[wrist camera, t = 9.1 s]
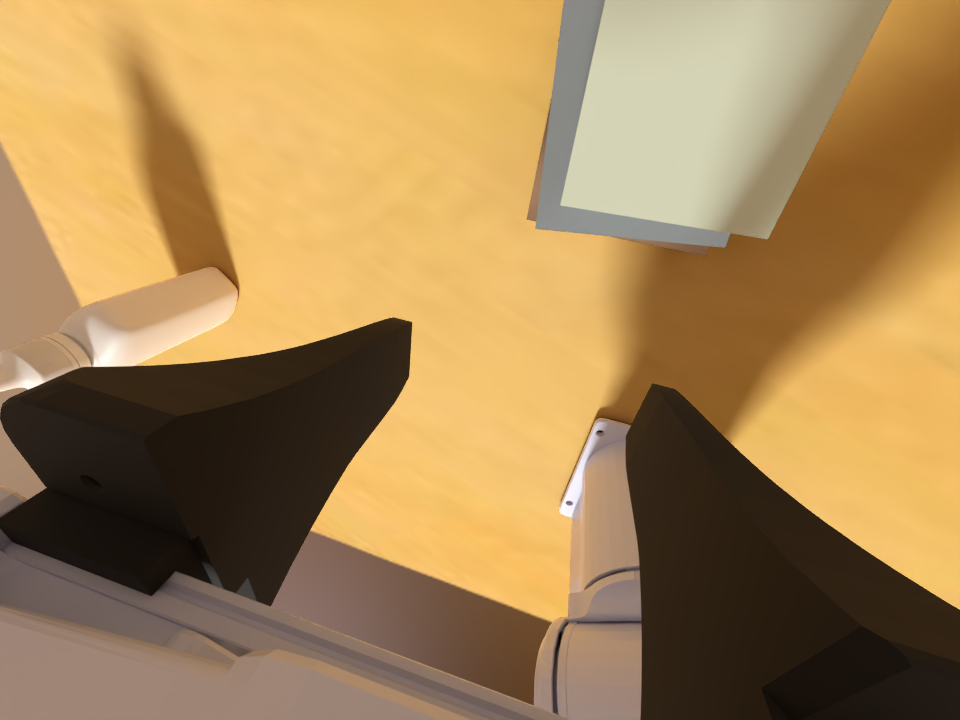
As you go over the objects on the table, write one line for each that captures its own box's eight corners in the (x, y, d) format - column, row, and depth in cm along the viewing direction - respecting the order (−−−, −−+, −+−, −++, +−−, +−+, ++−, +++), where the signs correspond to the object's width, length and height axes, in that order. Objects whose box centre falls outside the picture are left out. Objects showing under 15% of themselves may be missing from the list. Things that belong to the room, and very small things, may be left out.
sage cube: (707, 211, 13) (767, 239, 9) (567, 190, 14) (559, 205, 9) (784, 27, 10) (924, -63, 6) (607, 12, 11) (622, -78, 7)
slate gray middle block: (705, 234, 15) (724, 247, 13) (541, 218, 17) (535, 228, 15) (784, 13, 12) (827, -16, 10) (568, 15, 13) (565, -11, 11)
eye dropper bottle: (169, 271, 26) (-93, 347, 16) (228, 263, 24) (-23, 341, 14) (201, 327, 28) (-16, 426, 18) (257, 323, 26) (54, 428, 16)
